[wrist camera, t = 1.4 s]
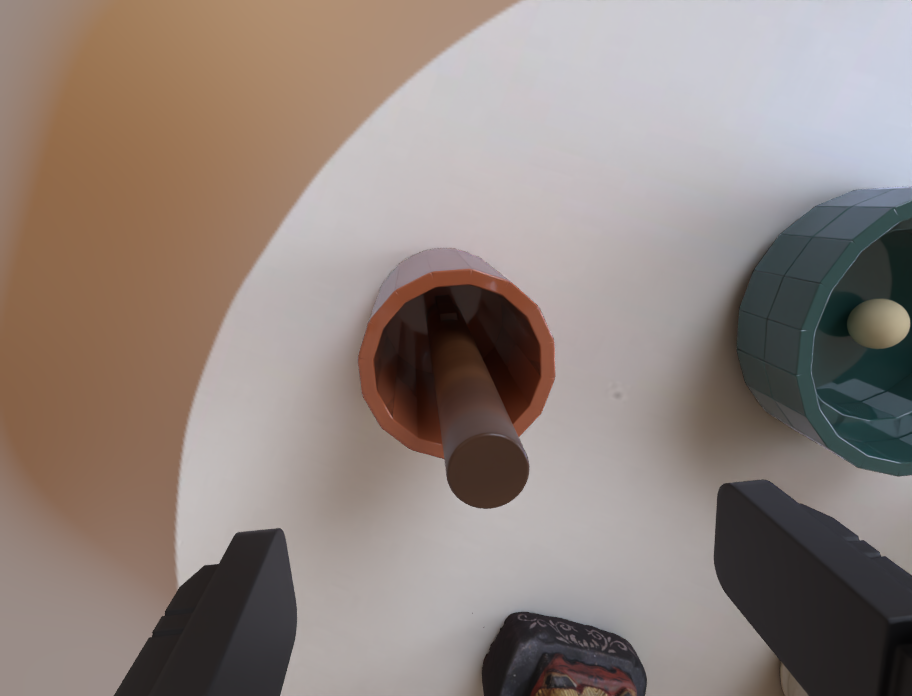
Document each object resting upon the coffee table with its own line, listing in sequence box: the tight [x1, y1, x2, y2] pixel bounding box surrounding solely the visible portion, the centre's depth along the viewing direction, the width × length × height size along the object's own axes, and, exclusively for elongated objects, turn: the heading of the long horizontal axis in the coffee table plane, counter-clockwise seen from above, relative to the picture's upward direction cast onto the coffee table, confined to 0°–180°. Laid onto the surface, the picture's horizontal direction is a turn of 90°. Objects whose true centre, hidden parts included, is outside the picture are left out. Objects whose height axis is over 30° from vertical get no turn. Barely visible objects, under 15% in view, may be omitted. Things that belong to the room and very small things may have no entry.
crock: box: [358, 248, 555, 459], centre depth 26 cm, size 8×8×10 cm
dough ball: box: [847, 299, 910, 349], centre depth 31 cm, size 3×3×3 cm
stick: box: [426, 295, 529, 509], centre depth 22 cm, size 3×2×18 cm
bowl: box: [737, 186, 912, 476], centre depth 30 cm, size 15×15×6 cm
